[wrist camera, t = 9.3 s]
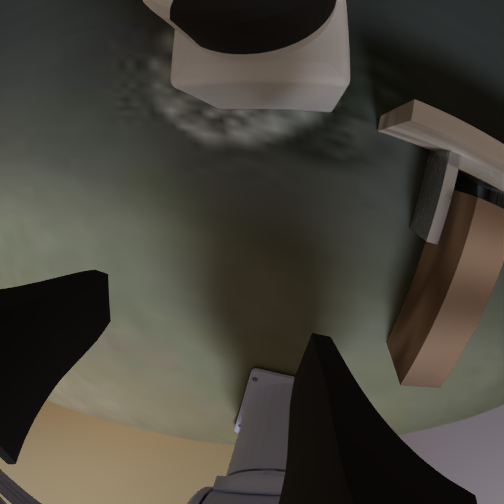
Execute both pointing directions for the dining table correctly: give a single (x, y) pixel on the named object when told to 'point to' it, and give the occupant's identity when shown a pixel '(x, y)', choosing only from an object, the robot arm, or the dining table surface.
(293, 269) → the dining table surface
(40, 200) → the dining table surface
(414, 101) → the wall plate
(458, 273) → the brown wooden block
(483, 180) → the bracket
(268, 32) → the medicine bottle
